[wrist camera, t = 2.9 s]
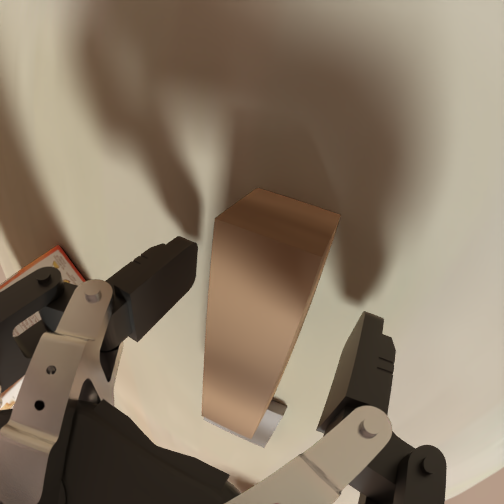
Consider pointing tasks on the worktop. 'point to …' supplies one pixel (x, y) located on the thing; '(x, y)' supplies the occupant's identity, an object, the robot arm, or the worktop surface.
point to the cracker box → (69, 275)
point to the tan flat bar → (259, 306)
